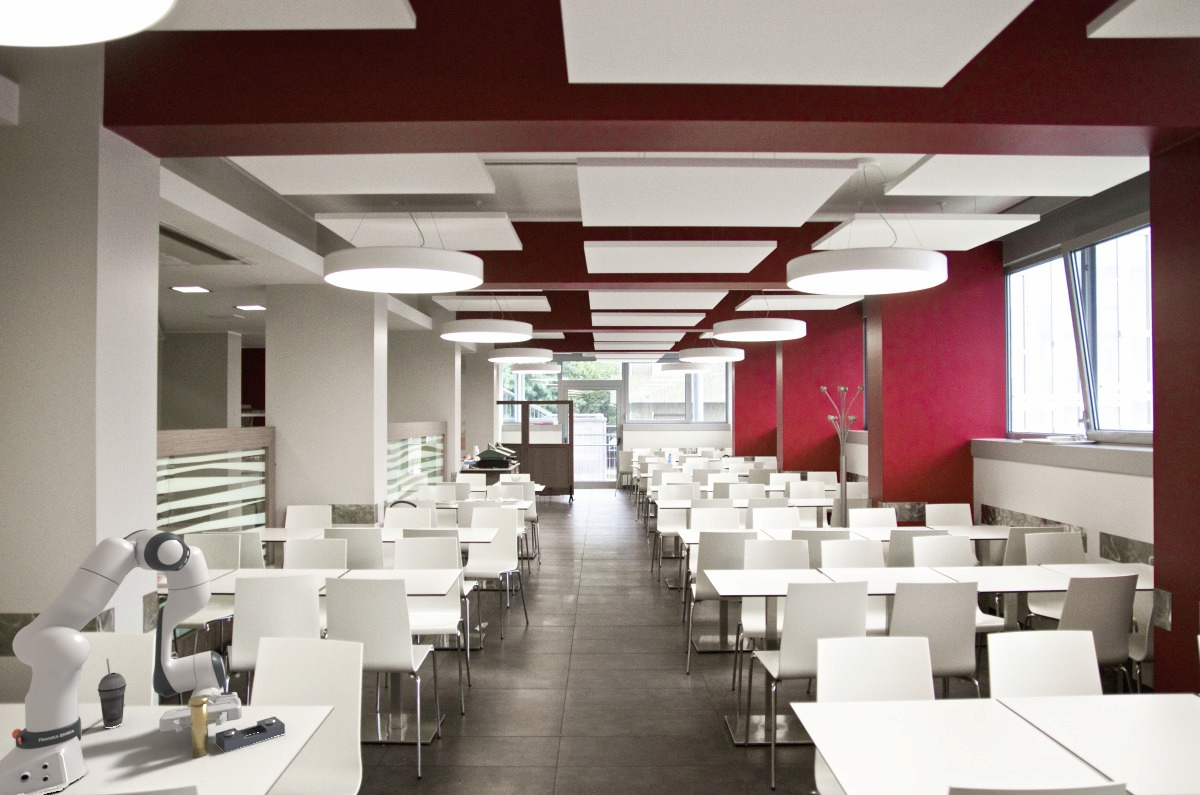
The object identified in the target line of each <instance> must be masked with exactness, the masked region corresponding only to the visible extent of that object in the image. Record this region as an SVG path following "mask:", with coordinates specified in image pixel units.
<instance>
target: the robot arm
mask: <svg viewBox="0 0 1200 795" xmlns="http://www.w3.org/2000/svg"><path fill="white" fill-rule="evenodd" d="M136 568H141V569H142V570H145V571H158V572H163V574H164V575H165V578H166V585H167V598H166V602H165V604H164V605H162V606H161V607H160V608H159V610H158V613H157V617H156V631H155V653H154V654H155V655H154V669H153V674H152V683H151V684H152V688H153V691H154V693H155V694H158V695H159V696H162V697H165V698H169V697H173V696H175V695H179V694H181V693H185V692H188V691H192V690H193V691H192V694H191V696H190V698H192V697H195V696H200V695H207V696H209V701H208V702H207V712H208V725H211V724H215V726H216V727H217V726H222V724H223V723H225V722H230V721H237V720H240V719H241V718H242V713H243V712H242V711H243V710H242V701H241V698H240V697H239V695H238V692H236V691H225V690H224V685H225V683H226V681H227V669H226V664H225V660H224V658H223V656H222V655H221V654H219V653H218V652H216V651H215V650H208V651H203V652H198V653H195V654H191V655H188V656H183V657H178V658H173V657H172V647H173V646H172V644H173V631H174V629H175V628H176V627H177V626H179V625H180V624H181V623H182V622H185V621H186V620H188V619H189V618H191V617H193V616H195V615H196V614H198V613H199V612H200V611H202V610H203V609H204V608H205V607H206V606H207V605H208V603H209V601H210V599H211V597H212V585H211V577H210V571H209V568H208V565H207V561H206V558H205V556H204V553H203V551H202V549H201V548H199V547H198V546H195V545H188V544H186V542H185V541H184V540H183V538H182V537H180V536H179V535H178V534H175V533H173V532H169V531H164V530H161V529H145V528H144V529H139V530H135V531H134V532H131V533H130V534H128V535H127V536H124V537H123V538H121V537H116V536H110V537H106V538H104V539H102V540H101V541H100V542H99V543H98V544H97V545H96V546H95V547H94V548H93V549H92V550H91V551H90V552H89V554H88V555H86V557H85V558H84V560H82V562H81V563H80V565H79V566H78V568H77V569H76V570H75V571H74V573H73V575H72V576H71V577H70V579H69V580H68V581H67V582H66V584H65V586H64V587H63V588H62V590H60V593H59V594H57V596H56V597H55V598H54V599H53V601H52V602H50V603H49V605H47V606H46V608H44V609H43V610H42V611H41V613H39V614H38V615H37V616H36V617H35V618H34V620H32V621H31V622H30V623H29V624H27V625H25V626H23V627H22V628H21V629H20V630H18V632H17V633H16V635H15V636H14V638H13V640H12V651H13V653H14V655H15V656H16V658H17V660H19V661H20V663H22V664H23V665H27V666H29V667H31V671H32V677H31V681H30V686H29V691H28V692H27V693H26V695H25V697H24V716H25V722H24V723H25V727H24V729H20V728H16V729H14V730H13V731H12V732H11V736H12V738H13V739H15V747H14V748H12V749H11V751H9V752H8V753H7V754H5V756H3V757H2V758H1V759H0V795H17V794H20V793H21V794H22V793H24V794H25V795H26V794H27V795H33V794H37V793H42V792H47V791H51V790H55V789H59V788H62V787H64V786H65V785H66V784H67V783H68V782H70V781H72V780H74V779H76V778H78V777H80V776H81V775H83V774H84V773H85V772H86V771H87V769H88V767H87V764H86V762H85V758H84V753H83V750H82V743H81V740H82V735H83V731H82V730H83V729H82V728H83V727H82V721H81V720H82V719H81V717H80V715H79V685H80V680H81V679H80V678H81V674H82V670H83V665H84V664H85V663H86V661H87V660H88V658H89V655H90V650H91V649H90V648H91V647H90V646H91V645H90V643H89V641H88V640H87V638H86V637H85V636H84V635H83V634H82V633H81V632H80V631H82V629H84V627H85V626H87V624H89V623H90V622H91V621H92V620H93V619H95V618H96V617H99V615H100V614H102V613H103V611H105V608H106V607H107V605H108V604H109V603H110V601H111V599H112V598H113V596H114V595H115V594H116V591H118V589H119V588H120V586H121V584H122V583H123V582H124V580H125V578H126V576H127V575H129V573H130V572H131V571H132V570H134V569H136ZM188 728H189V729H190V728H191V705H189V703H188V704H187V706H185V707H179V708H173V709H169V710H167V711H165V712H163V714H162V715H161V716H160V717H159V731H160V732H161V733H162V732H163V733H164V732H171V731H175V732H176V733H181V732H183V730H184V729H188ZM54 786H57V787H56V788H54V789H49V788H51V787H54Z"/></svg>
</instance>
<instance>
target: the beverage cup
mask: <svg viewBox="0 0 1200 795" xmlns="http://www.w3.org/2000/svg"><path fill="white" fill-rule="evenodd" d="M109 661H110V660H109V658H106V664H107V665H106V666H107V674H106V675H105V676H103V677H102V678H101V679H100V682H99V683H98V686H97V691H98V696H99V699H100V700H99V701H100V706H101V713H102V714H101V715H102V723H103V727H104V726H105V727H113V726H117V725H119V724H121V723H122V724H123V719H124V709H125V708H124V704H125V694H126V687H127V681H126V679H125V677H124V676H123V675H122V674H121V673H118V672H111V667H110V662H109Z"/></svg>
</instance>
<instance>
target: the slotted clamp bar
mask: <svg viewBox="0 0 1200 795" xmlns="http://www.w3.org/2000/svg"><path fill="white" fill-rule="evenodd" d="M285 727H286V725H285V723H284V722H283V721H282V720H280V719H279V718H277V717H276V716H270V717H268V718H265V719H261V720H258V721H256V725H252V726H249V727H245V728H242V729H239V730H238V729H236V728H235V727H233V728H229V729H225V730H223V731H218V732H216V733H215V745H216V744H217V745H218V746H219V747H220V748H221V749H222V750H223V751H224V752H226V753H228V752H227V751H229V752H231V751H230V750H233V751H235V750H234V749H236V750H238V749H237V748H239V749H241V748H240V747H242V748H244V747H243V746H246V745H249V746H251V745H250V744H252V745H254V744H253V743H256V742H259V741H262V740H265V739H268V738H271V737H274V736H277V735H281V734H284V733H285V734H286V728H285ZM257 732H259V733H260V734H259V733H257ZM253 733H257V734H253ZM249 734H253V735H250V736H247V737H244V736H246V735H249ZM262 742H263V741H262ZM259 743H260V742H259ZM256 744H257V743H256ZM217 745H216V746H217ZM219 747H218V748H219ZM246 747H247V746H246ZM220 748H219V749H220ZM221 749H220V750H221ZM222 750H221V751H222ZM223 751H222V752H223ZM224 752H223V753H224Z"/></svg>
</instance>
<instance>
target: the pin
mask: <svg viewBox="0 0 1200 795" xmlns="http://www.w3.org/2000/svg"><path fill="white" fill-rule="evenodd" d="M208 701H209V696H207V695H200V696H195V697H192V698H191V697H190V698H189V699H188V704H189V705H191V727H190V735H191V738H190V739H191V757H192V758H195V759H196V758H197V759H199V758H204V757H206V756H208V755H209V753H210V752H209V750H210V749H209V746H210V745H209V724H208V712H207V702H208Z"/></svg>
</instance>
